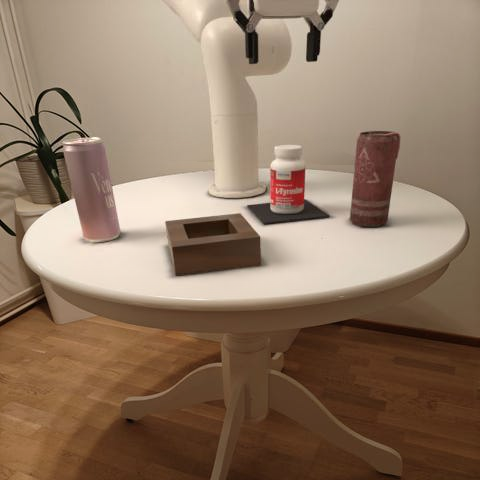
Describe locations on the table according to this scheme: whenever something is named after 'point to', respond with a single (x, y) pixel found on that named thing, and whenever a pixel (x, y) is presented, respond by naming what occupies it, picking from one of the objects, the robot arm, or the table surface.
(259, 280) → the table surface
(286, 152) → the pill bottle
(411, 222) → the table surface
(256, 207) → the coaster
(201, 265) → the holder
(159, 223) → the table surface
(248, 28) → the robot arm
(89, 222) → the beverage can
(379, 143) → the can
